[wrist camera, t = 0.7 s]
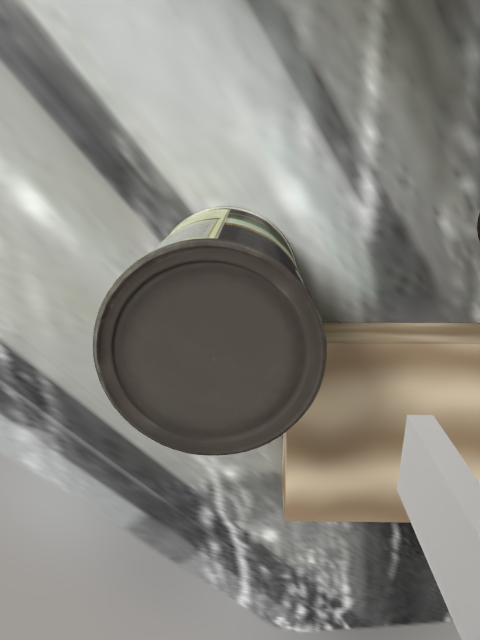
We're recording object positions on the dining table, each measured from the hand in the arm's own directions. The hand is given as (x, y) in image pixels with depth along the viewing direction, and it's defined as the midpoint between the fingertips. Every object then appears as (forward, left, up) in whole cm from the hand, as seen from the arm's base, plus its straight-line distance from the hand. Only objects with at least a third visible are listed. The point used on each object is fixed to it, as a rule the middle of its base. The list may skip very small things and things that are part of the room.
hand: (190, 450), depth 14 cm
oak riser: (+11, +12, -20) cm, 26 cm away
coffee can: (0, 0, -21) cm, 21 cm away
